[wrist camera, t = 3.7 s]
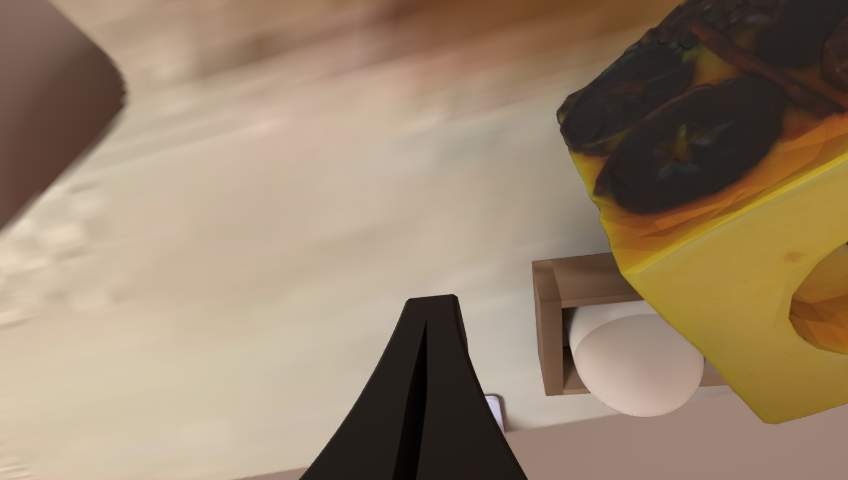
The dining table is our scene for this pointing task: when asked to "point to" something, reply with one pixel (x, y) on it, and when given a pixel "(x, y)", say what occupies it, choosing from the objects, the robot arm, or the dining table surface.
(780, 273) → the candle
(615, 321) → the dome button
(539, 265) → the brown shallow box
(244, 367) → the dining table surface
